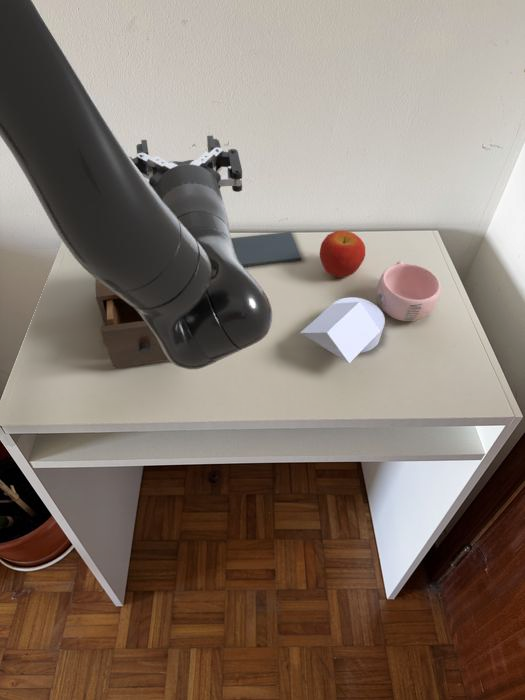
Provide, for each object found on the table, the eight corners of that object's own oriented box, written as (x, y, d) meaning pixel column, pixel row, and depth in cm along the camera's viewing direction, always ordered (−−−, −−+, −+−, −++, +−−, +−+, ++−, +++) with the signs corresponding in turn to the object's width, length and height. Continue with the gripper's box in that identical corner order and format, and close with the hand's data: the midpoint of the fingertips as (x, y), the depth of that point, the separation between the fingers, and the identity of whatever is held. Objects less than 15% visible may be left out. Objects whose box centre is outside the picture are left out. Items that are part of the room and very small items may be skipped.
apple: (366, 282, 89) (375, 247, 83) (324, 288, 87) (330, 252, 81) (352, 255, 94) (359, 220, 88) (312, 260, 92) (316, 225, 86)
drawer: (184, 364, 74) (179, 328, 68) (113, 374, 73) (101, 338, 67) (175, 301, 83) (170, 265, 77) (111, 309, 81) (101, 272, 75)
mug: (439, 327, 82) (451, 301, 77) (380, 330, 81) (388, 303, 77) (419, 279, 90) (428, 253, 85) (365, 280, 89) (371, 254, 84)
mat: (182, 274, 89) (181, 271, 88) (177, 246, 94) (177, 244, 93) (300, 260, 92) (301, 257, 92) (290, 234, 97) (290, 231, 97)
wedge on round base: (345, 377, 75) (390, 330, 81) (353, 348, 69) (400, 300, 76) (298, 347, 78) (345, 304, 85) (302, 317, 73) (351, 274, 80)
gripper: (255, 179, 54) (230, 112, 64) (120, 190, 51) (116, 119, 62) (254, 236, 59) (231, 166, 70) (132, 248, 57) (127, 174, 67)
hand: (177, 144), depth 66 cm, fingers open, 8 cm apart
